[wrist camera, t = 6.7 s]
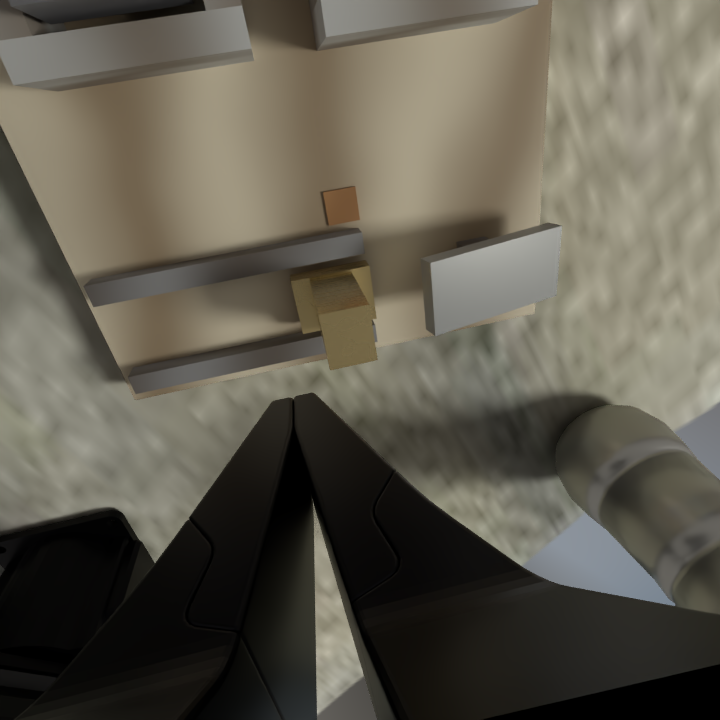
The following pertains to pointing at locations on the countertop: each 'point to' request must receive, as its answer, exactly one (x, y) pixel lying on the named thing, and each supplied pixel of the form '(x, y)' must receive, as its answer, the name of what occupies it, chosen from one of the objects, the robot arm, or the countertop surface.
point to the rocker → (490, 277)
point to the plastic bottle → (647, 498)
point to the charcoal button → (88, 8)
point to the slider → (338, 311)
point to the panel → (271, 162)
